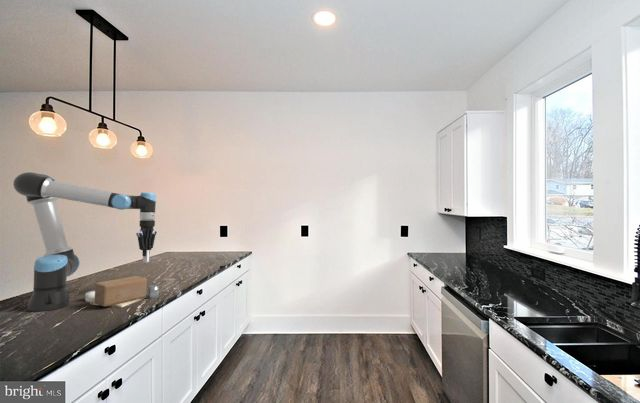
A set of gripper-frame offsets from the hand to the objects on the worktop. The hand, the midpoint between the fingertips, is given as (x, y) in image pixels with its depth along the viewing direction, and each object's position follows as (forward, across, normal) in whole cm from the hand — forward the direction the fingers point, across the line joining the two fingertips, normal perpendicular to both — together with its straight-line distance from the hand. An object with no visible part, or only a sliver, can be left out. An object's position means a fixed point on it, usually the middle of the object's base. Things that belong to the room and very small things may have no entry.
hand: (145, 261), depth 170 cm
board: (+17, -17, 0) cm, 24 cm away
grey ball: (+17, -8, -12) cm, 22 cm away
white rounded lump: (+17, -19, +14) cm, 29 cm away
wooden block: (+11, -9, -6) cm, 15 cm away
